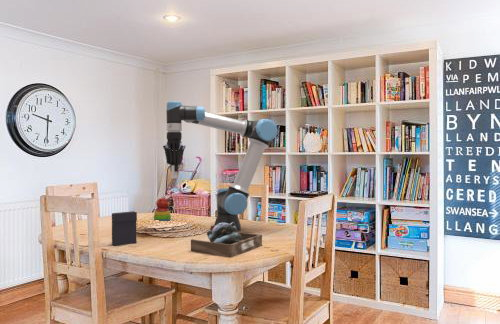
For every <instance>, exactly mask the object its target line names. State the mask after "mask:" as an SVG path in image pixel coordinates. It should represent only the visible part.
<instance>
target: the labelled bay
mask: <svg viewBox="0 0 500 324" xmlns="http://www.w3.org/2000/svg"><path fill="white" fill-rule="evenodd" d="M238 233H239V234H240V235H241V236H242V238H243V240H242V241H239V242H236V243H233V244H223V243H216V242H210V241H208V240H201V239H200V240H199V239H193V238H192V239H190V252H195V253H201V254H206V255H213V256H214V255H215V256H220V257H221V256H222V257H227V258H233V257H235V255H236V256H238V255H241V254H243V253H246V252H249V251H251V250H254V249H257V248H259V247H261V246H262V245H263V235H262V234H257V233H249V232H240V231H238ZM262 247H263V246H262Z"/></svg>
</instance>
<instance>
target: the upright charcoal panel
mask: <svg viewBox="0 0 500 324" xmlns="http://www.w3.org/2000/svg"><path fill="white" fill-rule="evenodd" d="M137 221H138V212H137V211H131V210H130V211H121V212H112V213H111V245H112V246H113V247H117V246H124V245H132V244H137Z"/></svg>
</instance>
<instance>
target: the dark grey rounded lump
mask: <svg viewBox="0 0 500 324" xmlns="http://www.w3.org/2000/svg"><path fill="white" fill-rule="evenodd" d="M238 232H239V230H238V231H237V228H236V225H235V223H234V222H232V223H231V224H230V223H229V222H228V221H225V222H224V223H219V224H217V225H216V226H214V224H213V225H211V226H210V229H209V230H207V231H206V235H207V238H208V240H209V242H216V243H223V244H233V243H236V242H239V241H242V240H243V238H242V236H241V235H240V234H239V233H238Z"/></svg>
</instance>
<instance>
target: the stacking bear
mask: <svg viewBox="0 0 500 324" xmlns="http://www.w3.org/2000/svg"><path fill="white" fill-rule="evenodd" d="M170 204H171V203H170V201H168V199H167V198H165V197H160V198H158V199H157V200H156V209H155V210H154V214H153V221H154V220H159V221H170V220H171V219H172V217H171V216H172V215H171V211H170V209H169V207H170ZM170 222H171V221H170Z"/></svg>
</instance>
